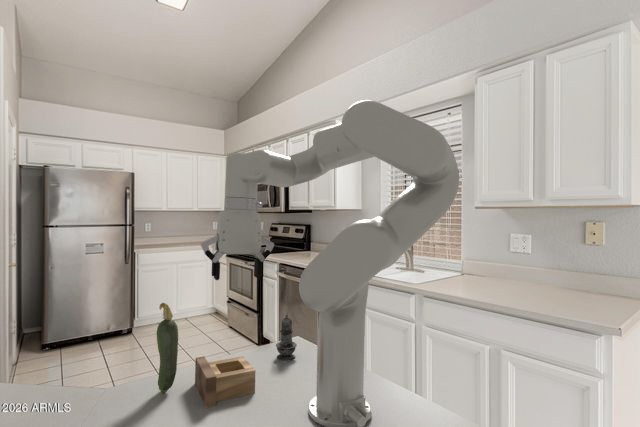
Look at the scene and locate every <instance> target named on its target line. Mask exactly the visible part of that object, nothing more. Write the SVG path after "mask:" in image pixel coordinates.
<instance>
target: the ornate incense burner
mask: <svg viewBox="0 0 640 427" xmlns="http://www.w3.org/2000/svg"><path fill="white" fill-rule="evenodd" d="M279 332H280V336H281V337H280V341H279V342H277V343H275V347H276V350H277V352H278V353H279V354H278V355H277V356H276V359H277V360H278V361H281V362H291V361H293V360H295V359H296V355H295V354H294V352H295V350H296V348H297V346H298V345H297V343H296V342H294V341H293V333H294V330H293V321H292V319H291V318H289V316H288V314H285V318H284V317H283V319H282V320H281V329H280V330H279Z"/></svg>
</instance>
